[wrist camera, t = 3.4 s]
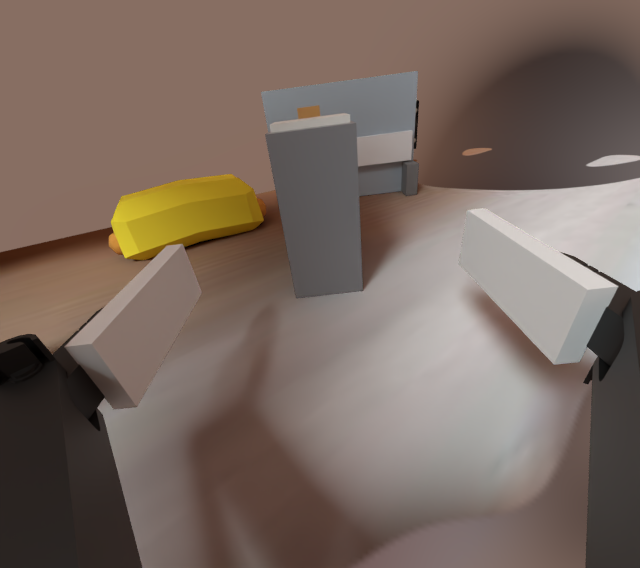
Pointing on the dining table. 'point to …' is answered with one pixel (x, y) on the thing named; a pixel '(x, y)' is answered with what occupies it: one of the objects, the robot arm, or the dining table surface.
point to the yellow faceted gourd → (183, 215)
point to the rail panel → (365, 124)
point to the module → (318, 200)
